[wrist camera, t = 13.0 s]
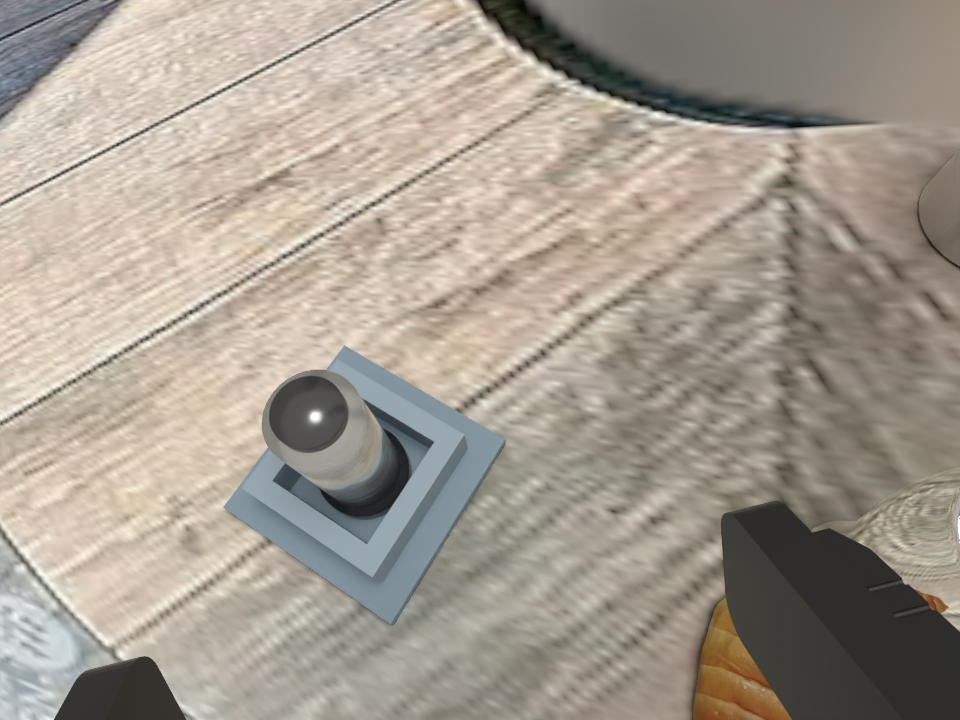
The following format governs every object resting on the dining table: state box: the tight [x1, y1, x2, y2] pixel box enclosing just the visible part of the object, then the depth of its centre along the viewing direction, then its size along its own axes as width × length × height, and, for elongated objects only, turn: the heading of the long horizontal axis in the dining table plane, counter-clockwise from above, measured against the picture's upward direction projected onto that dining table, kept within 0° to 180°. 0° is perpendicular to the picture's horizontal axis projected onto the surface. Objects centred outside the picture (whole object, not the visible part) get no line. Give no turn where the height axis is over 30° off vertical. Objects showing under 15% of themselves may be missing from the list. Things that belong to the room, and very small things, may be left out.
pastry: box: [693, 597, 792, 720], centre depth 32 cm, size 9×7×4 cm
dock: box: [223, 346, 505, 625], centre depth 37 cm, size 12×12×4 cm
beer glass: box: [810, 467, 960, 631], centre depth 29 cm, size 7×7×15 cm
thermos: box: [262, 370, 412, 520], centre depth 33 cm, size 5×5×12 cm
